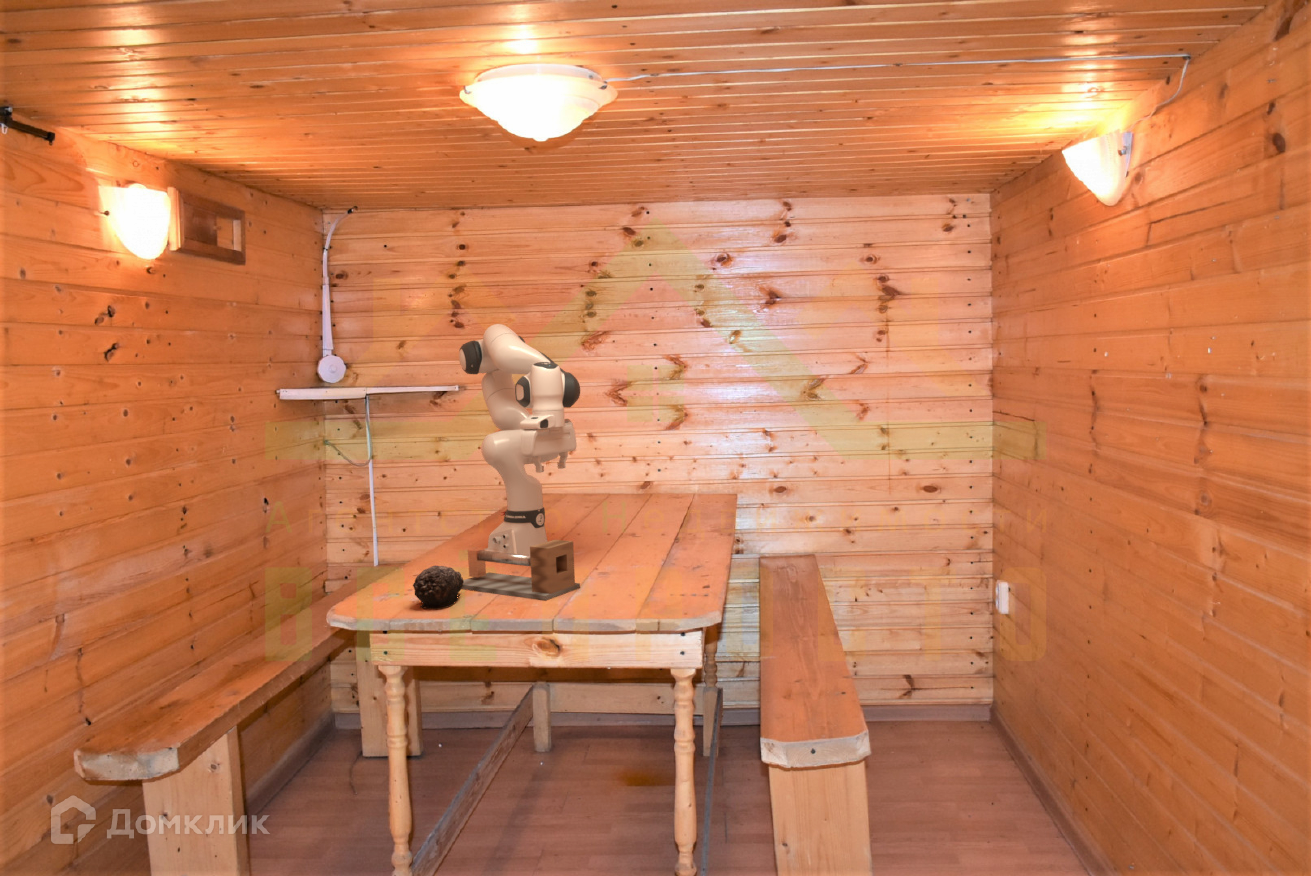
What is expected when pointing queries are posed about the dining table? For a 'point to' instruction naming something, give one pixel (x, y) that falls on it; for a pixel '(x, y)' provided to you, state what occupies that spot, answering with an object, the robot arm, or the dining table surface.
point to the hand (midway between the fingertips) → (550, 470)
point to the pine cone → (438, 587)
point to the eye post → (534, 574)
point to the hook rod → (492, 560)
